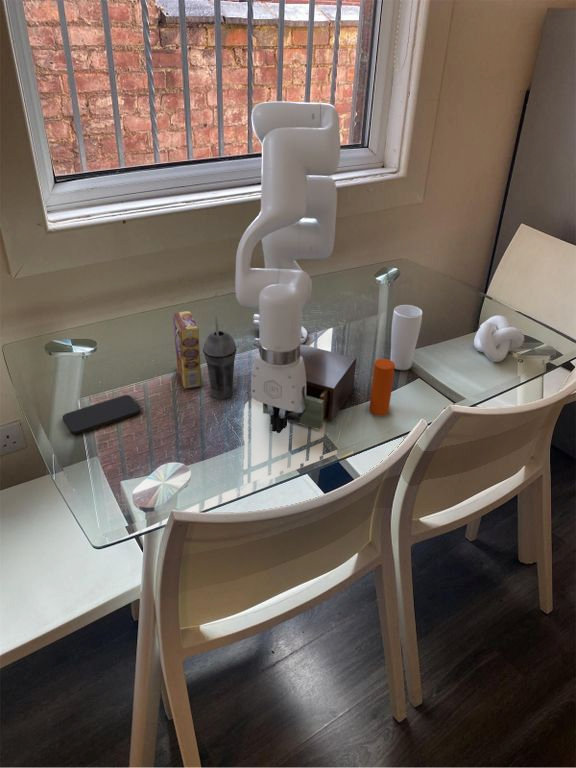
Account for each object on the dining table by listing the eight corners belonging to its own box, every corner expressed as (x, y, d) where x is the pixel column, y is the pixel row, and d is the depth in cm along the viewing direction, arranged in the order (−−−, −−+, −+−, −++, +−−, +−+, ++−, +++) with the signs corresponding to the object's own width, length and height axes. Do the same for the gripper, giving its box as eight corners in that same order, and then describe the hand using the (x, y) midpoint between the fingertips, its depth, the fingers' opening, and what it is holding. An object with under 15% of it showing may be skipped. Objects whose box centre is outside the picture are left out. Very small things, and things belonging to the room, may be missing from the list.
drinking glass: (414, 374, 145) (422, 319, 136) (385, 371, 146) (392, 315, 138) (414, 360, 150) (423, 306, 142) (387, 357, 151) (394, 303, 143)
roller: (366, 412, 132) (371, 366, 125) (372, 402, 135) (378, 356, 128) (385, 417, 130) (391, 371, 124) (390, 407, 133) (397, 361, 127)
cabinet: (331, 421, 129) (333, 388, 124) (270, 403, 134) (270, 371, 129) (353, 389, 139) (356, 358, 134) (296, 374, 144) (296, 343, 139)
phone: (141, 410, 130) (71, 433, 122) (142, 413, 130) (72, 436, 123) (128, 393, 135) (60, 414, 127) (129, 396, 135) (61, 418, 128)
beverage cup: (243, 387, 139) (240, 309, 128) (230, 405, 133) (226, 325, 122) (214, 381, 141) (209, 304, 130) (200, 398, 135) (194, 319, 124)
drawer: (312, 441, 122) (313, 414, 118) (253, 423, 126) (253, 396, 123) (342, 399, 134) (344, 373, 130) (287, 384, 139) (288, 358, 135)
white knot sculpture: (459, 344, 157) (465, 314, 152) (498, 338, 160) (505, 308, 155) (483, 366, 148) (491, 335, 143) (524, 359, 151) (533, 328, 146)
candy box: (203, 386, 139) (199, 328, 131) (184, 389, 138) (179, 331, 129) (194, 366, 146) (190, 310, 138) (177, 369, 145) (171, 312, 136)
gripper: (234, 350, 111) (237, 428, 121) (308, 369, 106) (305, 450, 116) (253, 332, 117) (255, 409, 127) (324, 350, 112) (320, 428, 122)
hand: (278, 428), depth 122 cm, fingers closed
